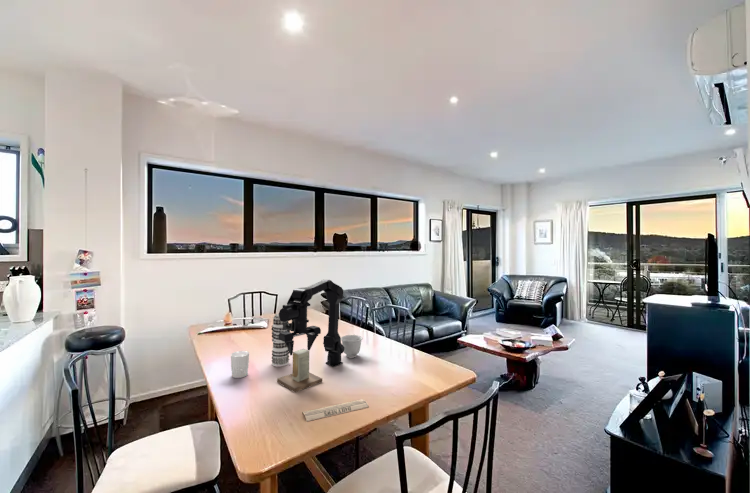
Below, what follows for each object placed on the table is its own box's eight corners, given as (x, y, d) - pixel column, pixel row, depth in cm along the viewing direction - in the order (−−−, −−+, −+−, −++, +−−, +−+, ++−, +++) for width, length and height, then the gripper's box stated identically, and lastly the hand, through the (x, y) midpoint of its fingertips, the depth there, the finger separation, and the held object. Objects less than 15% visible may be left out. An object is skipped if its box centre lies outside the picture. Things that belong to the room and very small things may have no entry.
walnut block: (303, 375, 152) (304, 369, 152) (322, 384, 143) (322, 378, 143) (277, 384, 142) (277, 378, 142) (294, 394, 133) (294, 388, 133)
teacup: (364, 351, 185) (364, 334, 185) (360, 360, 170) (361, 341, 170) (343, 350, 186) (343, 333, 186) (338, 359, 171) (338, 340, 171)
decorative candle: (266, 364, 163) (267, 315, 163) (280, 359, 171) (280, 311, 171) (280, 368, 158) (281, 317, 158) (293, 362, 166) (294, 313, 166)
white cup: (229, 379, 144) (229, 357, 144) (231, 372, 152) (232, 351, 152) (247, 377, 146) (248, 355, 146) (249, 371, 154) (250, 350, 154)
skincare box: (303, 375, 146) (304, 348, 146) (309, 377, 143) (310, 350, 143) (291, 379, 141) (292, 351, 141) (297, 382, 138) (298, 354, 138)
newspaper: (362, 402, 126) (362, 397, 126) (370, 410, 120) (370, 405, 120) (302, 415, 116) (302, 410, 116) (307, 425, 110) (307, 420, 110)
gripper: (307, 311, 155) (306, 344, 155) (271, 317, 141) (271, 353, 141) (321, 315, 147) (321, 349, 147) (285, 322, 133) (285, 359, 134)
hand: (300, 352), depth 142 cm, fingers open, 9 cm apart
